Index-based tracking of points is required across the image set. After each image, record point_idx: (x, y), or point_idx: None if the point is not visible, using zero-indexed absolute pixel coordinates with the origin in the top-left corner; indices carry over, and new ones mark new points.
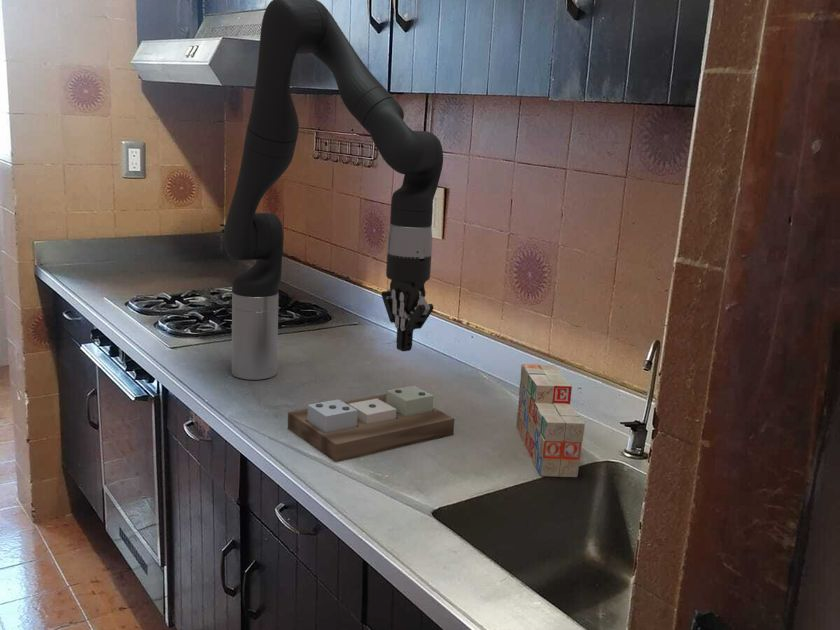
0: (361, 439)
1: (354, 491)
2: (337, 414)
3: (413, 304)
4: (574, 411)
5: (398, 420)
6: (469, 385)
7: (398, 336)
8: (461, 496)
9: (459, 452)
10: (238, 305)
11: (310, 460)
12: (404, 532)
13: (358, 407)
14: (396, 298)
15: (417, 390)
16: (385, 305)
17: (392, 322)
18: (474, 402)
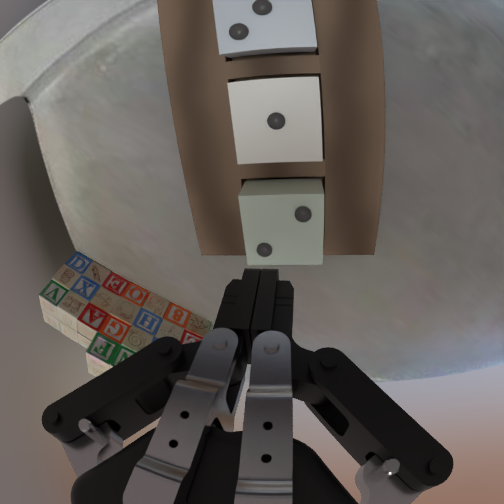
0: (162, 44)
1: (81, 17)
2: (213, 3)
3: (118, 452)
4: (72, 339)
5: (226, 156)
6: (369, 356)
7: (263, 305)
8: (44, 143)
9: (145, 207)
10: None
11: None
12: (10, 61)
13: (283, 86)
14: (238, 490)
15: (291, 255)
16: (401, 416)
17: (319, 350)
18: (314, 332)
